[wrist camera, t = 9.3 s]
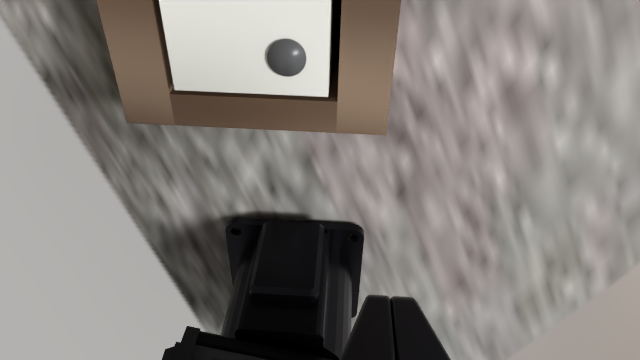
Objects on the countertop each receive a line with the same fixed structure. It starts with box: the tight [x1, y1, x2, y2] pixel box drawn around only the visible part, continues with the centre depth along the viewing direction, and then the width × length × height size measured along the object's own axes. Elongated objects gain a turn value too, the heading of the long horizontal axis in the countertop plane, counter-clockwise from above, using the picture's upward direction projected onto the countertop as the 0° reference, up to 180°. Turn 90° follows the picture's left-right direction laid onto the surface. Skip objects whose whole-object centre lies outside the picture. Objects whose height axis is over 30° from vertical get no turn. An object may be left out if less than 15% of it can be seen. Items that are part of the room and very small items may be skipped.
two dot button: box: [159, 0, 334, 97], centre depth 16 cm, size 5×5×3 cm
